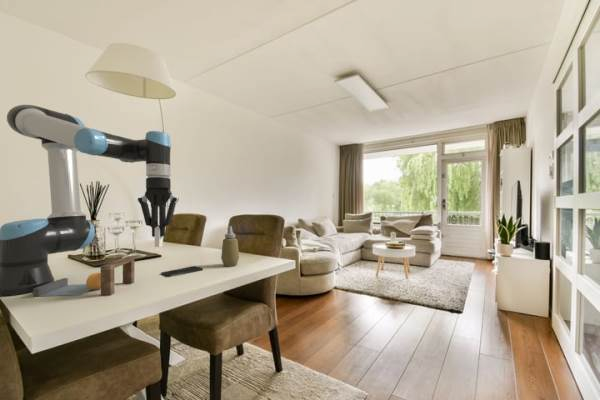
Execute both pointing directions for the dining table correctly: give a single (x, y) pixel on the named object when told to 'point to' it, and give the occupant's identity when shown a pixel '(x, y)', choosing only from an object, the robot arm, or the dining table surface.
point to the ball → (94, 281)
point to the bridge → (108, 274)
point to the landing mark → (69, 290)
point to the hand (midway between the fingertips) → (158, 246)
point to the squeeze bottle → (230, 249)
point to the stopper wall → (50, 287)
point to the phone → (181, 271)
